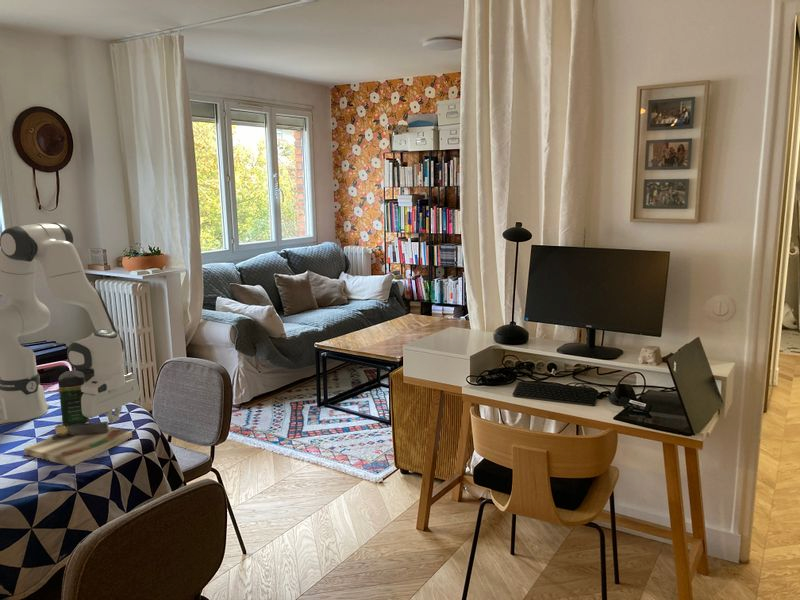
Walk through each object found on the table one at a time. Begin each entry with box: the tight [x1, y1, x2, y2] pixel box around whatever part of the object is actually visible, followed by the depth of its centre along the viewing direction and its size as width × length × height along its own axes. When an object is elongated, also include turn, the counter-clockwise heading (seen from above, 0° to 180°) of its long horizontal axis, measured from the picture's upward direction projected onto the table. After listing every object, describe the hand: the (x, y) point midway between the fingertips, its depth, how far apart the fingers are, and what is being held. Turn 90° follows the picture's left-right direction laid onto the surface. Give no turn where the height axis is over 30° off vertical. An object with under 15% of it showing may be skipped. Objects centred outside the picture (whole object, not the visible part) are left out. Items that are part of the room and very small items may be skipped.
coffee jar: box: [57, 369, 90, 424], centre depth 207 cm, size 10×8×19 cm
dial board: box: [23, 426, 133, 467], centre depth 193 cm, size 20×22×2 cm
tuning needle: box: [54, 421, 109, 438], centre depth 196 cm, size 15×4×3 cm, turn 101°
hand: (114, 421), depth 203 cm, fingers closed
